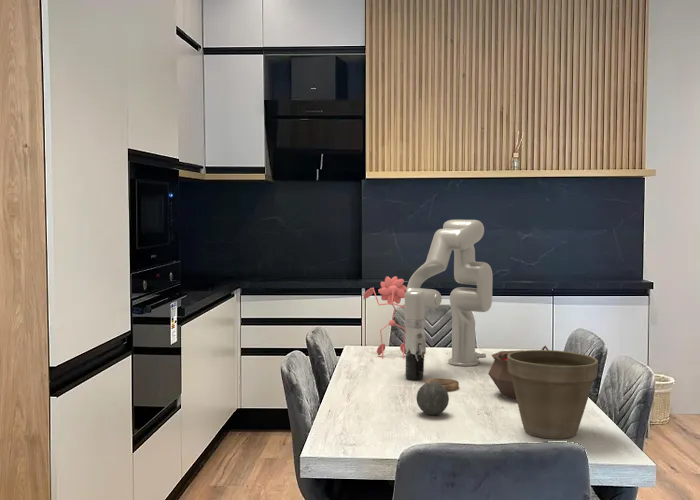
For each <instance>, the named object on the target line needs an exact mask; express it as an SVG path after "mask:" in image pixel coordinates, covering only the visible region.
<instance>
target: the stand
mask: <svg viewBox="0 0 700 500" xmlns="http://www.w3.org/2000/svg"><path fill="white" fill-rule="evenodd" d="M429 382H436V383H439V384H441V385H442V386H443V387H444V388H445V389H446V390H447V392H448V393H449V392H455V391H458V390H459V386H460V385H459V381H458V380H456V379H452V378H444V377H442V378H441V377H438V378H436V377H435V378H430V379H429V378H428V379H426V380H424V384H426V383H429Z"/></svg>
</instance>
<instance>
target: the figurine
mask: <svg viewBox="0 0 700 500" xmlns="http://www.w3.org/2000/svg"><path fill="white" fill-rule="evenodd" d="M404 283H405V280H404V279H403V278H398V276H393V277H392V278H391V277H389V275H388V276H385V278H384V281H380V288H379V289H377V290H378V294H380V295H381V296H380V299H381V300H382V301H387V302H386V303H380V302H379V299H378V297H377V294H376V291H375V288H374V287H370V288H369V289H367V290H366V291H365V292H364V294H363V300H367V299H369V298H370V297H371V296H373V294H374V297H375V300H376V302H377V304H378V306H386V305H391V306H392V307H393V309H394V310H393V313H392V317H391V319H390V320H389V322H388V324H387V325H385V326H384V327H382V328H380V341H381V342H380V343H381V344H380V345H378V347H377V349H376V354H377V355H378V356H380V355H381V358H382V359H384V352H385V349H386V344H385V343H383V337H382V336H383V335H382V330H384V329H385V328H387V327H388V326H390V327H394V326H397V327H398V328H401V329H403V330H404V331H403V343H401V344H400V346H399V349H400V352H402V358H403V359H405V353H406V351H405V333H406V328H405V327H402V326H401V325H399V324H398V323H396V321H395V319H394V316H395V312H396V307H395V306H398V307H401V308H403V309H405V305H401V304H400V303H401V300H402V299H405V293H406V289H407V286H406V285H404Z"/></svg>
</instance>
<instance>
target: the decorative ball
mask: <svg viewBox="0 0 700 500" xmlns="http://www.w3.org/2000/svg"><path fill="white" fill-rule="evenodd" d="M449 397H450V396H449V391H448V392H447V390H446V389H445V388H444V387H443V386H442V385H441V384H439V383H436V382H429V383H426V384H425V383H424V384H423V385H421V386H420V388H419V389H418V390H417V394H416V397H415V398H416V403H417V407H419V409H420V410H421V411H422V412H423V413H425V415H431V416H435V415H436V416H437V415H440V414H441V413H442V412H444V411H445V410H446V409H447V408H448V405H449V401H450V398H449Z"/></svg>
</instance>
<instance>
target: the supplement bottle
mask: <svg viewBox="0 0 700 500" xmlns="http://www.w3.org/2000/svg"><path fill="white" fill-rule="evenodd" d="M408 352H409V354H407V355H405V374H404V375H405V376H404V377H405V379H406V380H408V381H422V380H423V379H424V371H425V370H424V371H421V372H416V371H415V361H416V357H415V355H413V354H411V352H410V350H409V349H408ZM418 357H419V355H418Z"/></svg>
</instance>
